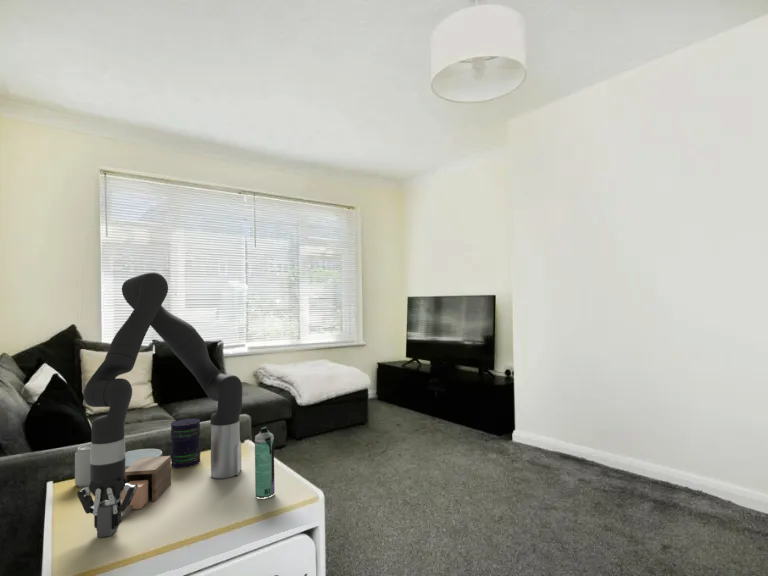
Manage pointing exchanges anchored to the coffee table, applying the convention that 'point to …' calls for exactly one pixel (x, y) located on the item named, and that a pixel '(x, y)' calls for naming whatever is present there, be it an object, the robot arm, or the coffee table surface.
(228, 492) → the coffee table surface
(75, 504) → the coffee table surface
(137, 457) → the cereal bowl
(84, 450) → the can
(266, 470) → the spray can
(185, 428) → the storage jar
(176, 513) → the coffee table surface
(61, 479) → the coffee table surface
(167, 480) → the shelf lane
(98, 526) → the block with cord
